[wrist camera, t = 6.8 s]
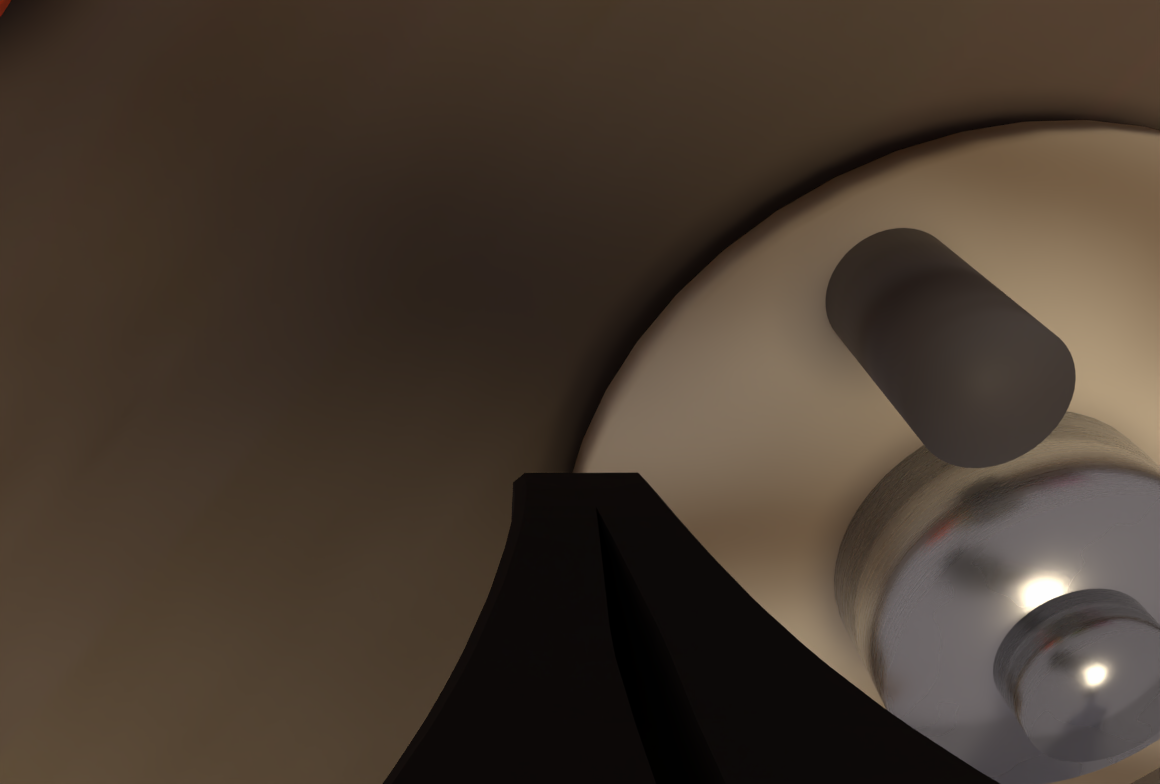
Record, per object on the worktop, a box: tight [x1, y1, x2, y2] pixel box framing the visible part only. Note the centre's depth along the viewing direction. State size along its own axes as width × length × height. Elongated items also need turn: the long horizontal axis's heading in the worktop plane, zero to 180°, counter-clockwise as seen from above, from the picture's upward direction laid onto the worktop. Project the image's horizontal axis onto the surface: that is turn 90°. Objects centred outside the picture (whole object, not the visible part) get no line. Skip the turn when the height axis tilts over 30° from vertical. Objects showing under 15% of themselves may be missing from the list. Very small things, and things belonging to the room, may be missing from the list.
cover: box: [834, 411, 1160, 784], centre depth 20 cm, size 7×7×4 cm
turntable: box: [573, 120, 1160, 784], centre depth 20 cm, size 18×18×5 cm
